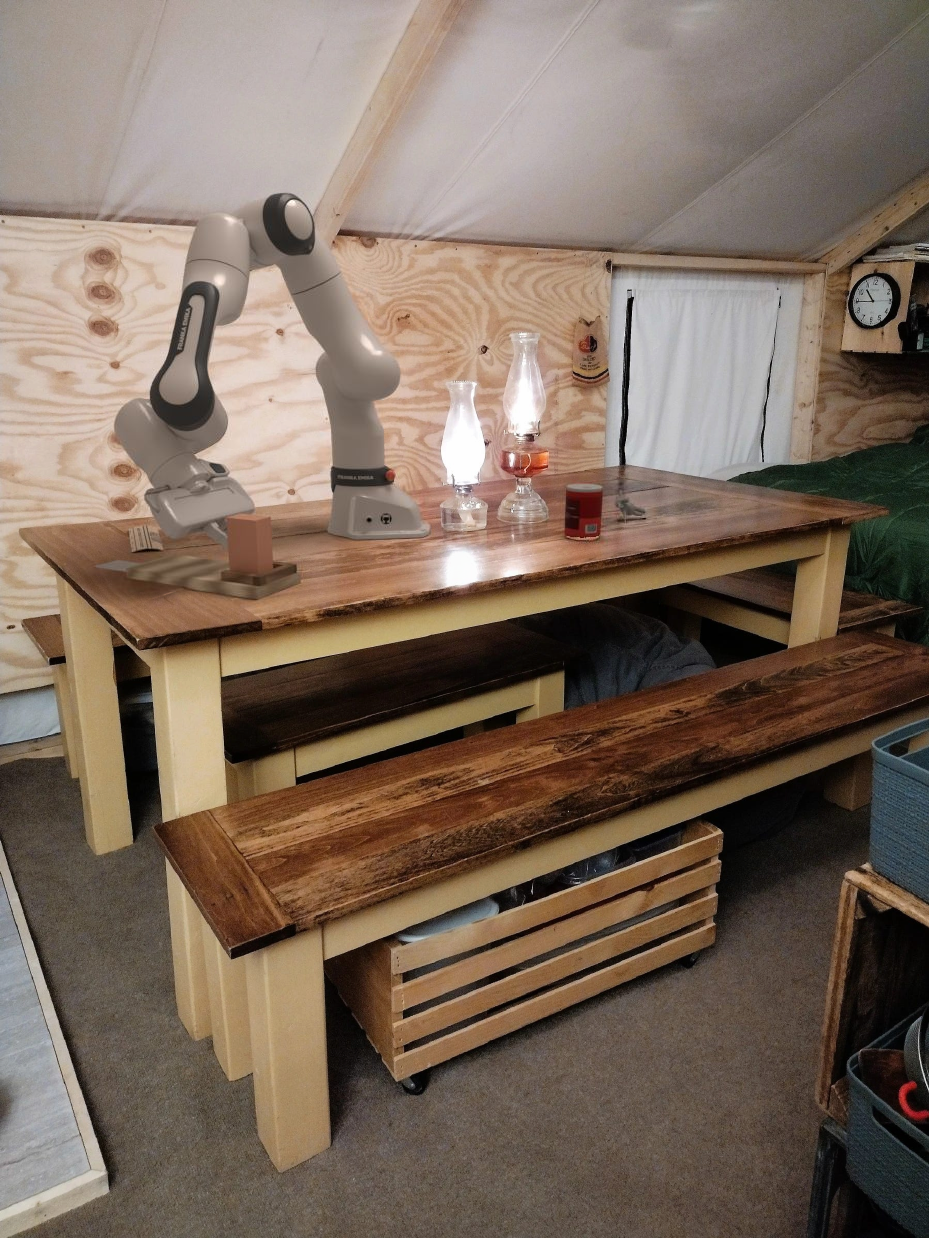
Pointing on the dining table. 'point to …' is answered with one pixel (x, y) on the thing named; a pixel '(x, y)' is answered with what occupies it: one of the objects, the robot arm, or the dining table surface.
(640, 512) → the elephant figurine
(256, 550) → the block
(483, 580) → the dining table surface
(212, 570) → the rail deck
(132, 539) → the newspaper
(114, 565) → the plate
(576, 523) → the canned food
